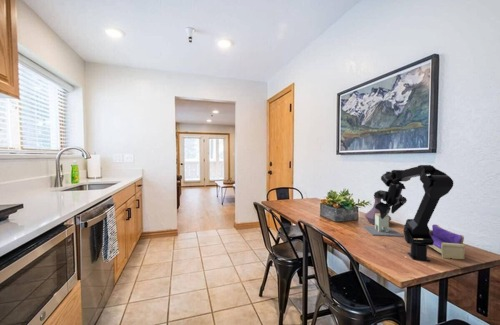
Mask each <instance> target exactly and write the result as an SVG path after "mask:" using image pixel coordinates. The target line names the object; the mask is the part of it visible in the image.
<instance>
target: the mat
mask: <svg viewBox="0 0 500 325" xmlns="http://www.w3.org/2000/svg"><path fill="white" fill-rule="evenodd" d="M362 228H363V229H364V228H365V229H364V230H365V231H367V232H368V233H369V234H370V235H372V236H375V237H377V236H378V237H379V236H380V237H397V238H398V237H399V238H400V237H401V238H405V236H404V234H402V233H400V232H399V231H397V230H395V229H393V228H392V227H390V226H389V232H386V227H385V230H383V229H382V227H381V232H378V230H376V229H375V225H374V226H372V225H371V226H370V225H362Z"/></svg>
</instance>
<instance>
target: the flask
mask: <svg viewBox="0 0 500 325" xmlns="http://www.w3.org/2000/svg"><path fill="white" fill-rule="evenodd" d="M373 198H374V204H373V207H372V208H371V209H370V210H369V211H368V212H366V213H365V214H364V217H365V219H366V220H368V222H369V224H372V225H375V213H380V211H379V210H378V209H376V208H375V204H377V203H379V202H382V199H380V198H375V197H373ZM387 215H388V216H389V222H391V221H392V217H391V216H390V215H389V213H388V214H387Z"/></svg>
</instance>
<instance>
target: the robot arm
mask: <svg viewBox="0 0 500 325" xmlns="http://www.w3.org/2000/svg"><path fill="white" fill-rule="evenodd" d="M417 177H419V181H420V182H421V183H422V184H423V185H422V189H423V191H424V195H423V196H422V199H421V202H420V204H419V205H418V209H417V210H416V213H415V215H414V217H413V218H407V219H406V220H405V221H406V222H405V224H404V227H403V236H404V240H405V242H406V243H407V244H409V245H410V252H407V255H408V256H409V257H410V258H411V259H412V260H415V261H425V262H431V259H430V258H429V257H428V245H433V243H434V241H433V239H432V237H431V235H430V234H429V231H430V230H431V229H430V227H429V225H428V224H429V222H430V219H431V218H432V216H433V214H434V211H435V209H436V208H437V205H438V203H439V201H440V199H441V198H442V197H445V196H446V195H447V194H449V193H450V192H451V190H452V188H453V187H454V179H452V178H451V176H450V175H448V174H446V172H444V171H442V170H440V169H437V168H436V167H435V166H434V165H431V164H420V165H418V166H417V165H416V166H414V167H410V168H407V169H392V170H391V171H385V173H383V174H382V175H381V176H380V180H381V182H382V183H383V184H384V185H385V186H386V187H387V188H388V189H387V191H386V190H382V189H380V190H377V191H375V192H374V194H373V196H374V197H375V198H380V199H381V200H382V201H381V202H379V203H377V204H375V208H376V209H378V210H379V211H380V216H381V219H384V218H385V217H386V215H387V214H388V215H389V213H391V214H395V212H397V211H398V210H400V209H401V208H402V206H405V204H407V201H408V199H407V198H406V197H405V196H403V194H402V193H403V192H402V191H403V190H406V189H407V188H406V186H405V185H404V183H402V182H408V181H410V180H411V179H412V178H417ZM374 197H373V198H374ZM417 239H423V240H417Z"/></svg>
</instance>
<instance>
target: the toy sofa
mask: <svg viewBox="0 0 500 325" xmlns="http://www.w3.org/2000/svg"><path fill="white" fill-rule="evenodd" d="M431 226H432V229H429V230H430V231H429V234H430V235H431V237H432V239H433V241H434V243H433V245H427V247H430V248H432V249H433V250H435V251H436V252H438V253H440V254H441V258H442V259H450V258H452V259H453V260H465V248H466V244H465V243H464V240H465V236H464V235H462V234H458V233H455V232H451V231H449V230H448V229H445V228H443V227H441V226H440V225H439V224H432V225H431ZM416 240H423V239H416Z"/></svg>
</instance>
